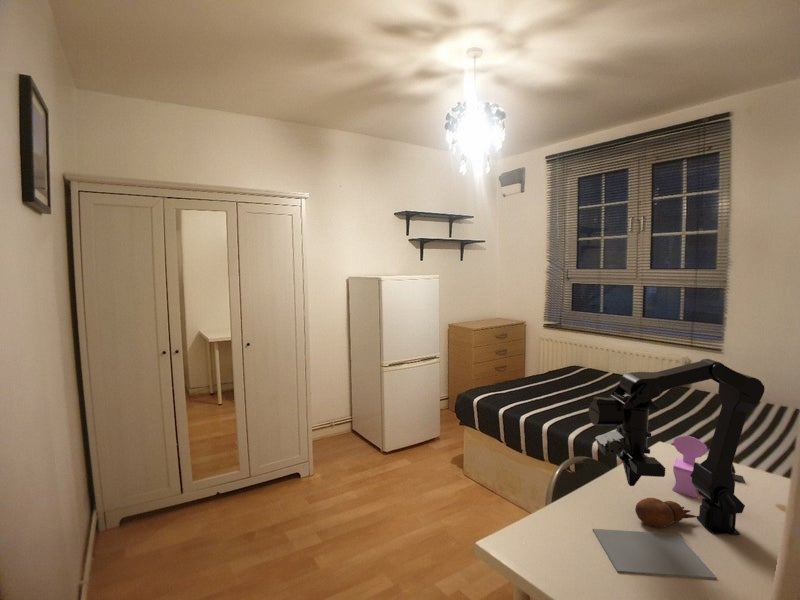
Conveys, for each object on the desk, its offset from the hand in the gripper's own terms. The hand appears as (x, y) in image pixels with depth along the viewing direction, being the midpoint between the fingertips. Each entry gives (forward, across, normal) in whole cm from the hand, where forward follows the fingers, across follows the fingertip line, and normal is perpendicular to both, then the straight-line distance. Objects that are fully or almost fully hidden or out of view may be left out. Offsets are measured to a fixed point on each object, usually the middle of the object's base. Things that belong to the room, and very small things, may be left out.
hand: (631, 485), depth 102 cm
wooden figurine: (+7, 0, +3) cm, 8 cm away
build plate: (+11, -29, +42) cm, 52 cm away
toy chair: (+11, -20, +25) cm, 33 cm away
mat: (+10, +10, 0) cm, 15 cm away
